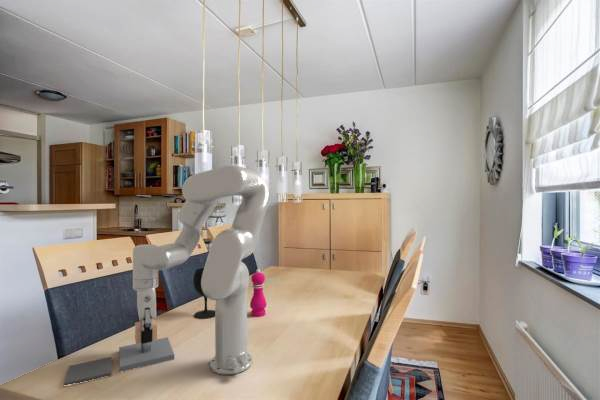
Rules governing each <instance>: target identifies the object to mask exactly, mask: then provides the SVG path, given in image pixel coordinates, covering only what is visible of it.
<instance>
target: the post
mask: <svg viewBox="0 0 600 400" xmlns="http://www.w3.org/2000/svg"><path fill="white" fill-rule="evenodd" d="M149 351H151V342H148V343H144V344H142V343H141V353H147V352H149Z"/></svg>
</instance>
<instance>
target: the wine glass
mask: <svg viewBox="0 0 600 400" xmlns="http://www.w3.org/2000/svg"><path fill="white" fill-rule="evenodd" d="M203 270H204V267H201V268H197V269H195V271H194V275H193V281H192V282H193V286H194V289H195V291H196V292H197V293H198V294H199V295H201V296H202V298H204V310H200V311H196V312H195V313H193V318H195V319H199V320H207V319H212V318H215V309H214V310H213V309H208V298H207V297H206V296H205V294H204V293H203V291H202V288H201V278H202V274H203Z"/></svg>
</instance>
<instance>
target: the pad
mask: <svg viewBox="0 0 600 400" xmlns="http://www.w3.org/2000/svg"><path fill="white" fill-rule="evenodd" d="M112 369H113V356H108V357H103V358H99V359H94V360H88V361H84V362H81V363H80V362H79V363H75V364H70V365H68V367H67V371H66V373H65V374H66V375H65V378H64V381H63V386H64V385H68V384H73V383H80V382H84V381H88V382H90V381H89V380H92V379H97V378H101V377H105V376H109V377H111V376H110V375H112V372H113V370H112ZM112 376H113V375H112ZM105 378H106V377H105ZM101 379H102V378H101ZM97 380H98V379H97ZM84 383H85V382H84ZM80 384H81V383H80Z"/></svg>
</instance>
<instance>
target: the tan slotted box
mask: <svg viewBox="0 0 600 400" xmlns="http://www.w3.org/2000/svg"><path fill="white" fill-rule="evenodd" d="M144 324H145V322H144ZM141 330H142V322H141V321H140V320H139V321H136V322H134V340H135V344H136V345H137V344H141ZM157 339H158V323H157V321H156V319H155V320H154V319H152V341H156V340H157Z"/></svg>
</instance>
